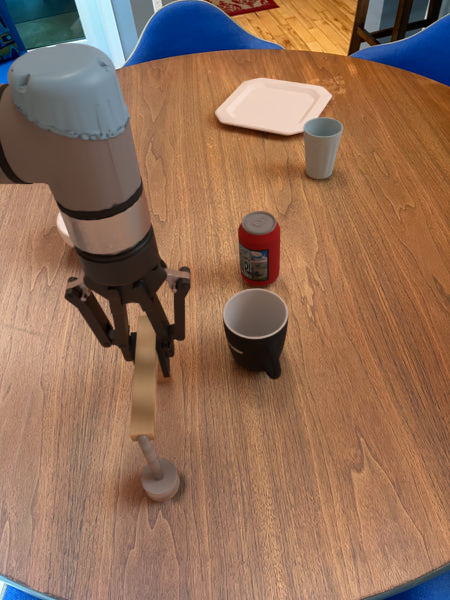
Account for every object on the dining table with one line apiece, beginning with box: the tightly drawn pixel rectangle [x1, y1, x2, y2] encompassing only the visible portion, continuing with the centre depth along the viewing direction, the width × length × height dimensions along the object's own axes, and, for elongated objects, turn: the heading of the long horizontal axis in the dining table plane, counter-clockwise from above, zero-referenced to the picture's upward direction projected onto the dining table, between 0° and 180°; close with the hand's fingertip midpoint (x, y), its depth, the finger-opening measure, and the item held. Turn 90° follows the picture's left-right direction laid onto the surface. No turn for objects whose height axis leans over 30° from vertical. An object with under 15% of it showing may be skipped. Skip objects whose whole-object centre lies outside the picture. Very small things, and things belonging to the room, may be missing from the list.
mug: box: [222, 288, 289, 380], centre depth 68 cm, size 12×9×10 cm
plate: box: [214, 77, 333, 136], centre depth 120 cm, size 25×25×2 cm
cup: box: [303, 116, 344, 180], centre depth 98 cm, size 8×8×10 cm
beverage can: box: [237, 210, 281, 287], centre depth 79 cm, size 7×7×12 cm
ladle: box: [129, 314, 181, 502], centre depth 59 cm, size 18×4×14 cm, turn 4°
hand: (154, 369), depth 62 cm, fingers closed on ladle, 2 cm apart
